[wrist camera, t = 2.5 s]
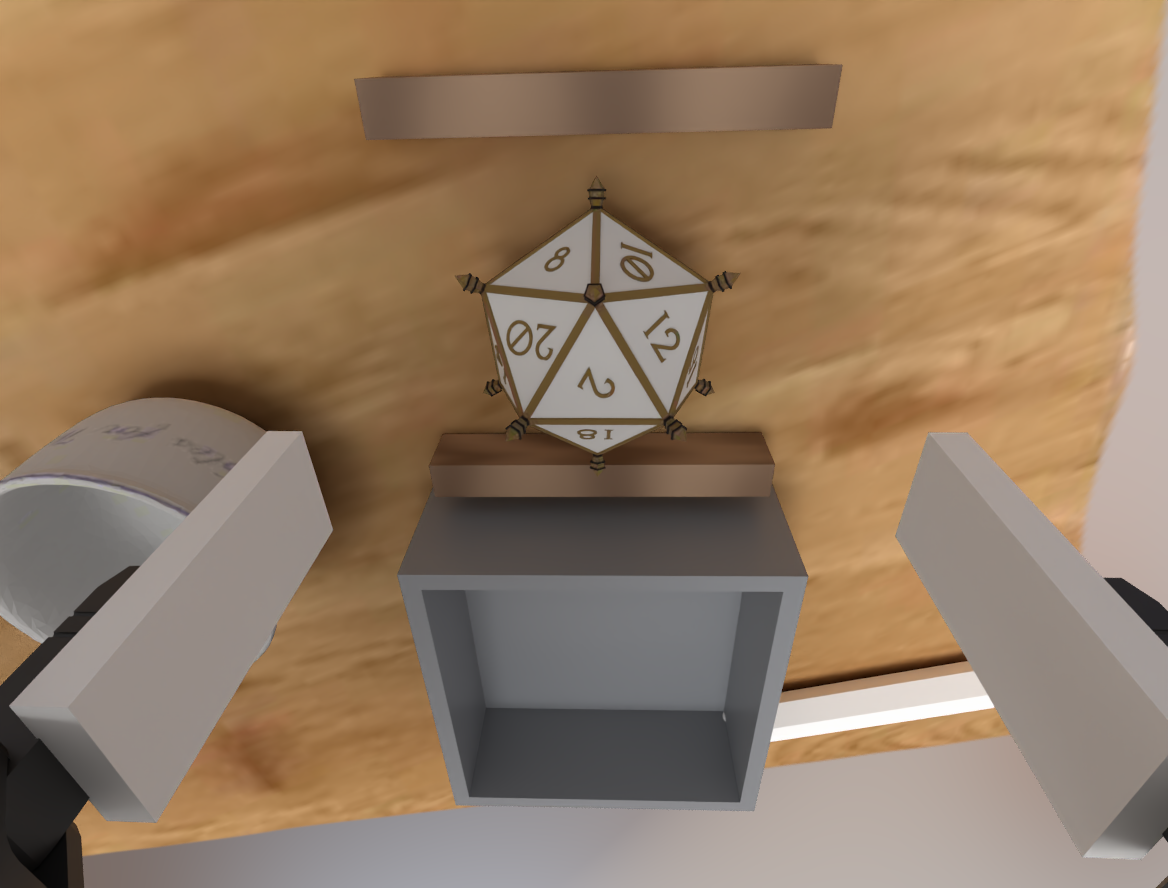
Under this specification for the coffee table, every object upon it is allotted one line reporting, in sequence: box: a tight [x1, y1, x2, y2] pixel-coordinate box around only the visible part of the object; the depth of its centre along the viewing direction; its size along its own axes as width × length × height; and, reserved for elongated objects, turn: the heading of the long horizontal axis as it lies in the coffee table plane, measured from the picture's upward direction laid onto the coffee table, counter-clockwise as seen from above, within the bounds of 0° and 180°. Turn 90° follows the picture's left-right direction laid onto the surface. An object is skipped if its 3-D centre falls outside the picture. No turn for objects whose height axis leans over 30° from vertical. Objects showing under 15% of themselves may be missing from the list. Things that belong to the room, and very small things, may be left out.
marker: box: [723, 661, 994, 742], centre depth 35 cm, size 3×2×16 cm
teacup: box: [0, 398, 277, 663], centre depth 25 cm, size 14×11×8 cm
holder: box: [354, 64, 842, 497], centre depth 23 cm, size 14×15×2 cm
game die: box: [455, 176, 740, 477], centre depth 20 cm, size 9×8×10 cm
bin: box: [397, 485, 808, 811], centre depth 30 cm, size 16×17×6 cm
